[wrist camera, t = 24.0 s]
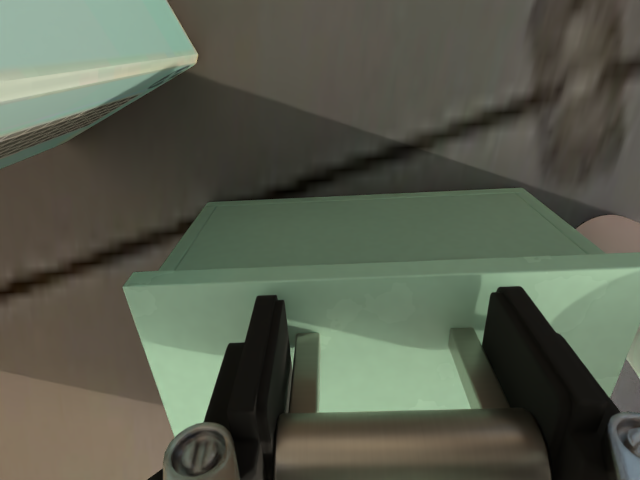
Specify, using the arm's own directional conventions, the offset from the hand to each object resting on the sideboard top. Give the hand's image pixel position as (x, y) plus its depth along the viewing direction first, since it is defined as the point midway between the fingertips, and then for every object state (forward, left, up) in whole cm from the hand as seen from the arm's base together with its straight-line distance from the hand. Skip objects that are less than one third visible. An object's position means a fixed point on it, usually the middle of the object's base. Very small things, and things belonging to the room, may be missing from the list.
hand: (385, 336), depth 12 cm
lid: (-6, +1, -2) cm, 6 cm away
